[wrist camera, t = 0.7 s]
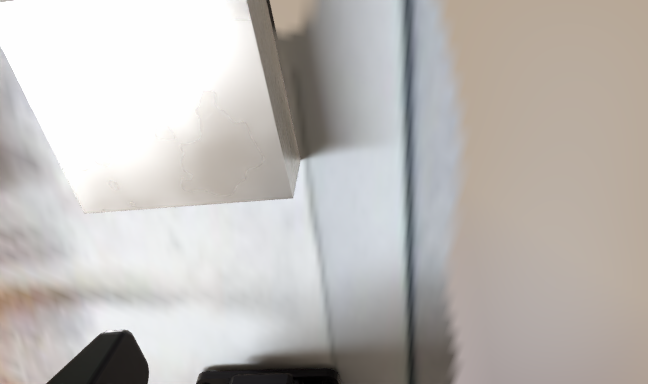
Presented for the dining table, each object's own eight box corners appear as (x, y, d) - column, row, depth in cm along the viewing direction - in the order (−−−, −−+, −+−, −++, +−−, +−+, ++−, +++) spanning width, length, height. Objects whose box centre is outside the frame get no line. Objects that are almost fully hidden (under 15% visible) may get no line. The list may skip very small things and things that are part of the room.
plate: (302, 153, 21) (292, 198, 19) (111, 169, 22) (84, 213, 20) (257, -59, 17) (239, -30, 15) (26, -26, 18) (-19, 5, 16)
